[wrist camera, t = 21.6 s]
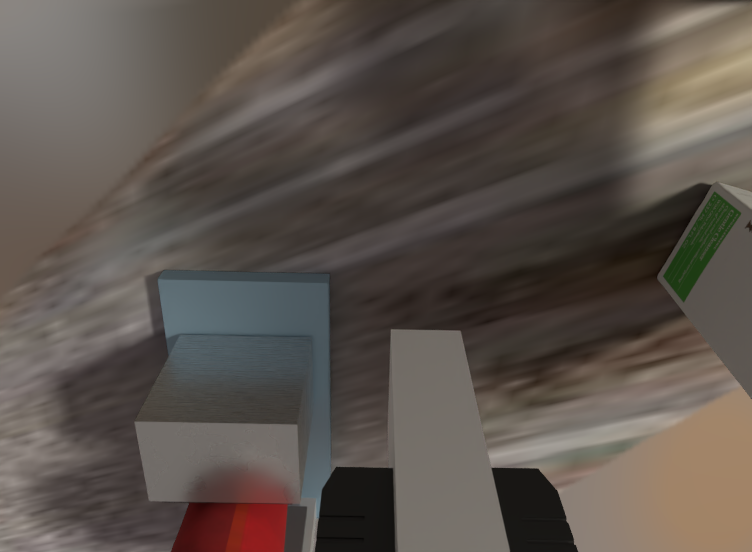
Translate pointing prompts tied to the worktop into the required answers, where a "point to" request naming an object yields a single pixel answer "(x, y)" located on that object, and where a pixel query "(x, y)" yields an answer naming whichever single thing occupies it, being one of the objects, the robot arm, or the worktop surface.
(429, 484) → the robot arm
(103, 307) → the worktop surface
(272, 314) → the base
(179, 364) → the block
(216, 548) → the coffee cup
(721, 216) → the skincare box
